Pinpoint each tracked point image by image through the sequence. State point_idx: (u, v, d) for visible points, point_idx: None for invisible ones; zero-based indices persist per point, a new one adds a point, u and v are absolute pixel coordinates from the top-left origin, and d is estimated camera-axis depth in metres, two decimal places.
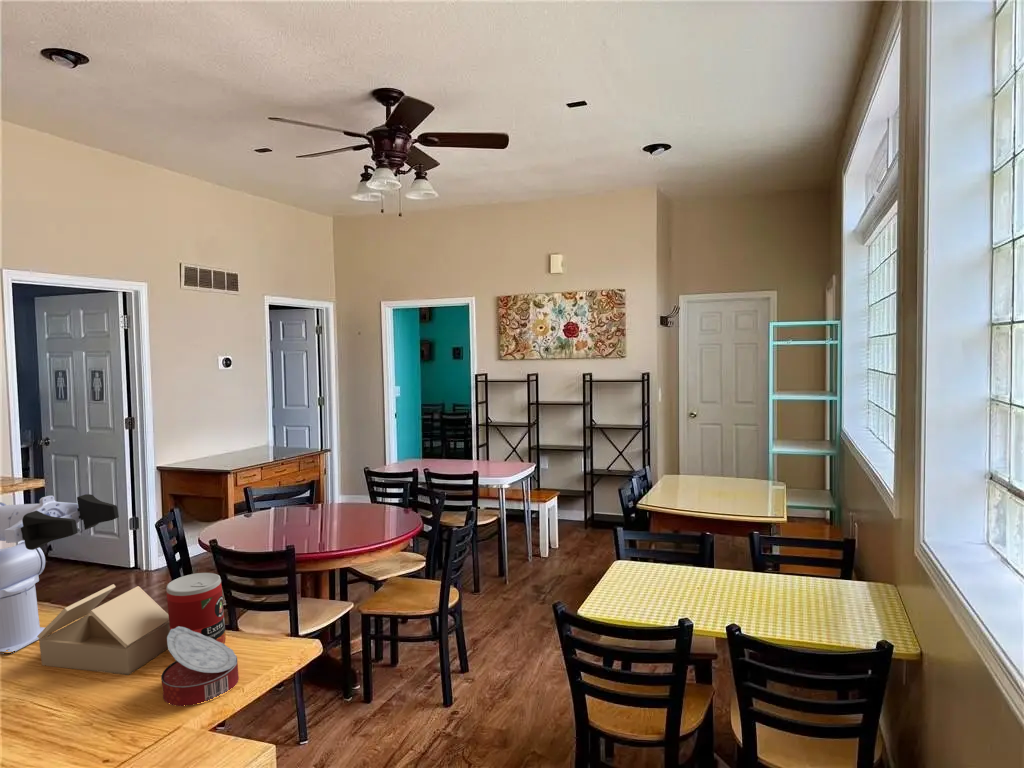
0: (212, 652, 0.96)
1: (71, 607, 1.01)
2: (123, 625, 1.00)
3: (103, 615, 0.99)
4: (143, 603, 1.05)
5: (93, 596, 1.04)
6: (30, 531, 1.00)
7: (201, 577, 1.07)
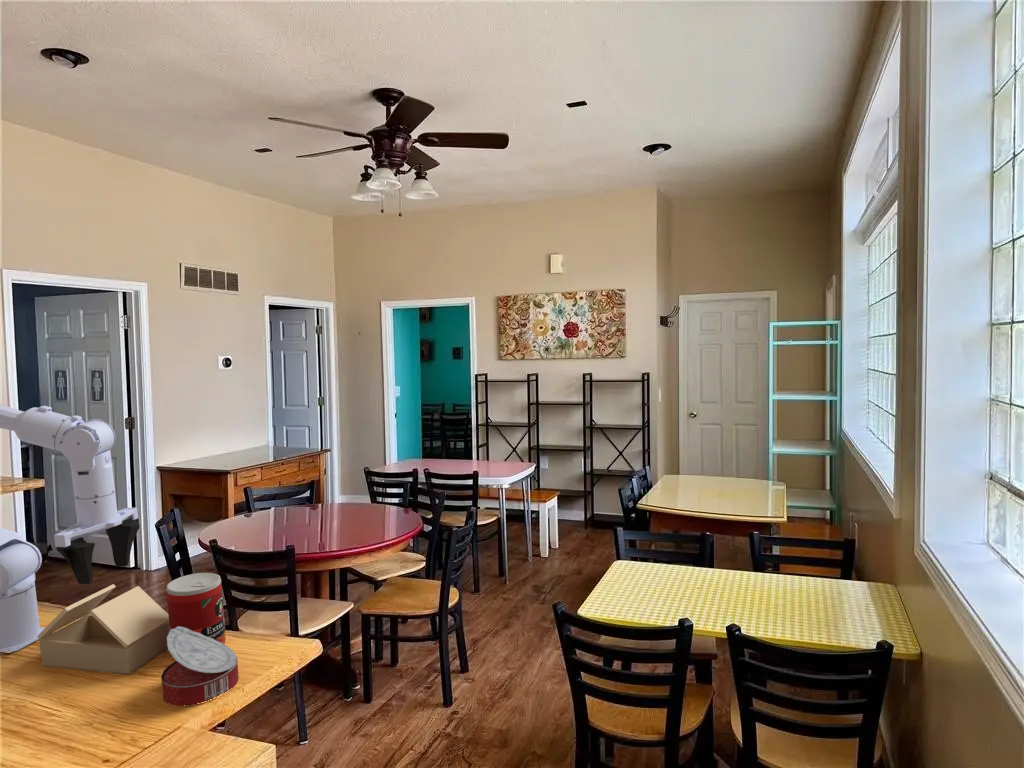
0: (212, 652, 0.96)
1: (71, 607, 1.01)
2: (123, 625, 1.00)
3: (103, 615, 0.99)
4: (143, 603, 1.05)
5: (93, 596, 1.04)
6: None
7: (201, 577, 1.07)
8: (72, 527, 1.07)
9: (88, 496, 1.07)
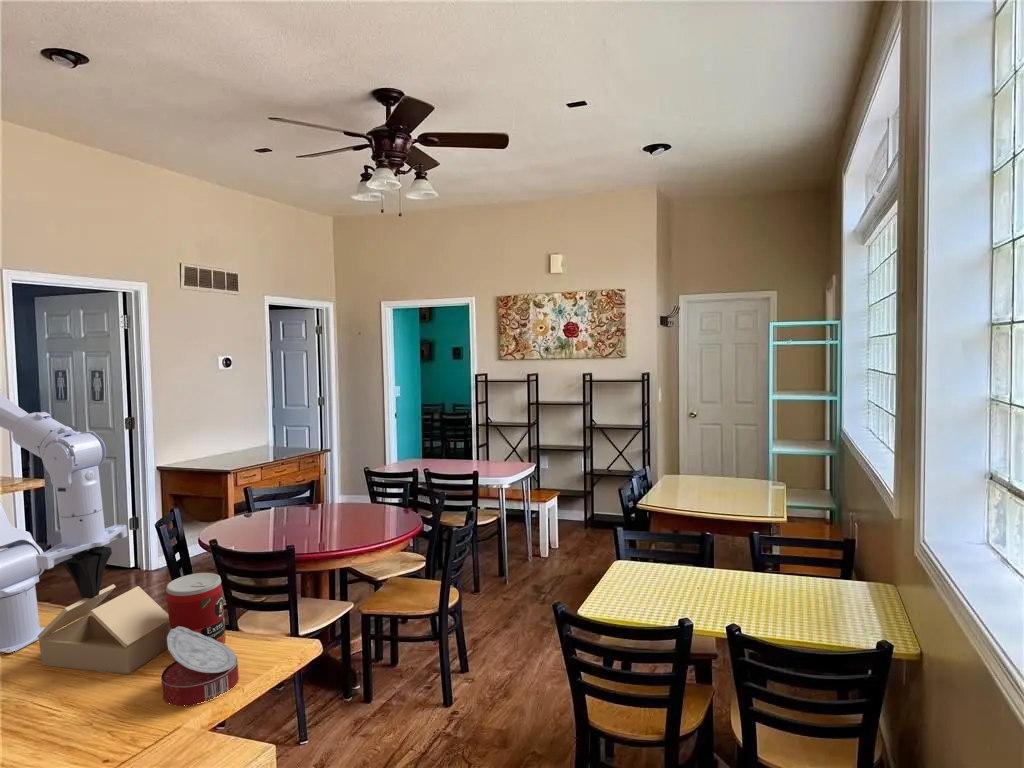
0: (212, 652, 0.96)
1: (71, 607, 1.01)
2: (123, 625, 1.00)
3: (103, 615, 0.99)
4: (143, 603, 1.05)
5: None
6: None
7: (201, 577, 1.07)
8: (56, 547, 1.01)
9: (66, 514, 1.00)
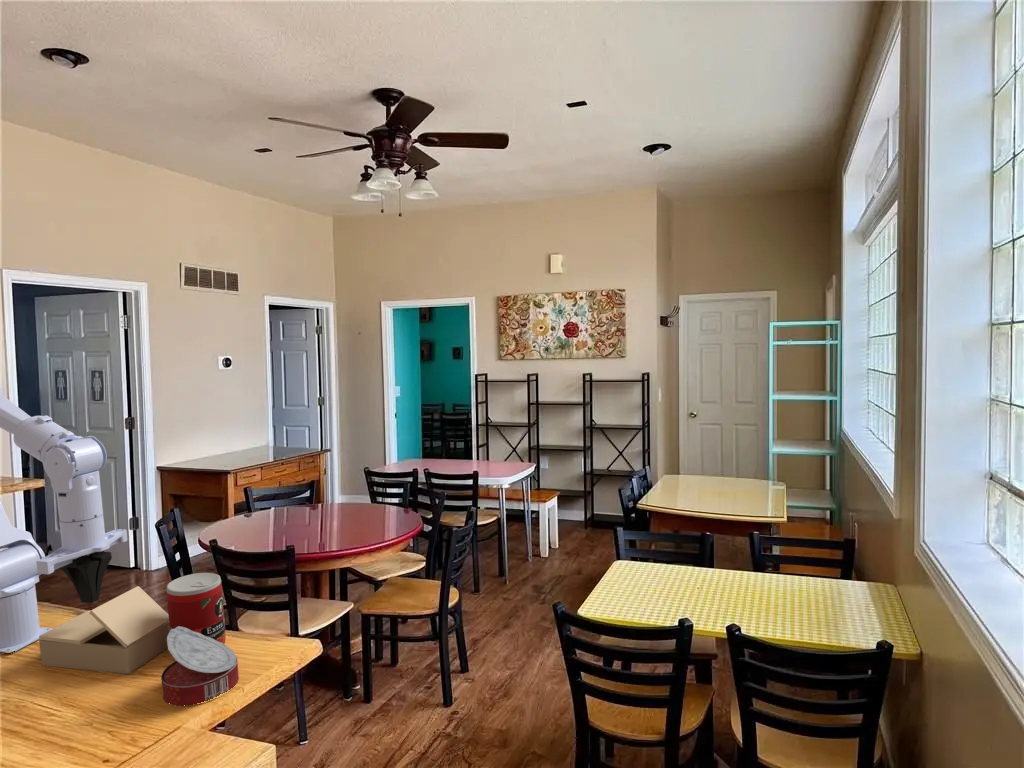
0: (212, 652, 0.96)
1: (85, 640, 1.01)
2: (123, 625, 1.00)
3: (103, 615, 0.99)
4: (143, 603, 1.05)
5: None
6: None
7: (201, 577, 1.07)
8: (56, 552, 1.01)
9: (66, 519, 1.00)
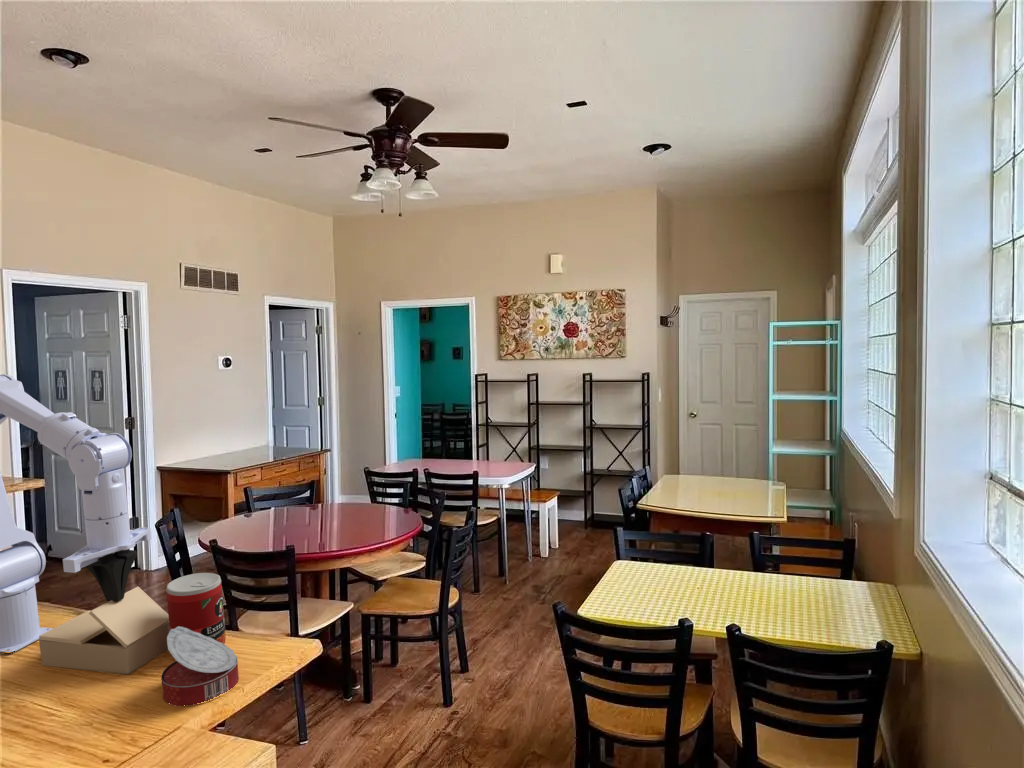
0: (212, 652, 0.96)
1: (85, 640, 1.01)
2: (123, 625, 1.00)
3: (103, 615, 0.99)
4: (143, 603, 1.05)
5: None
6: None
7: (201, 577, 1.07)
8: (82, 550, 1.00)
9: (92, 517, 0.99)
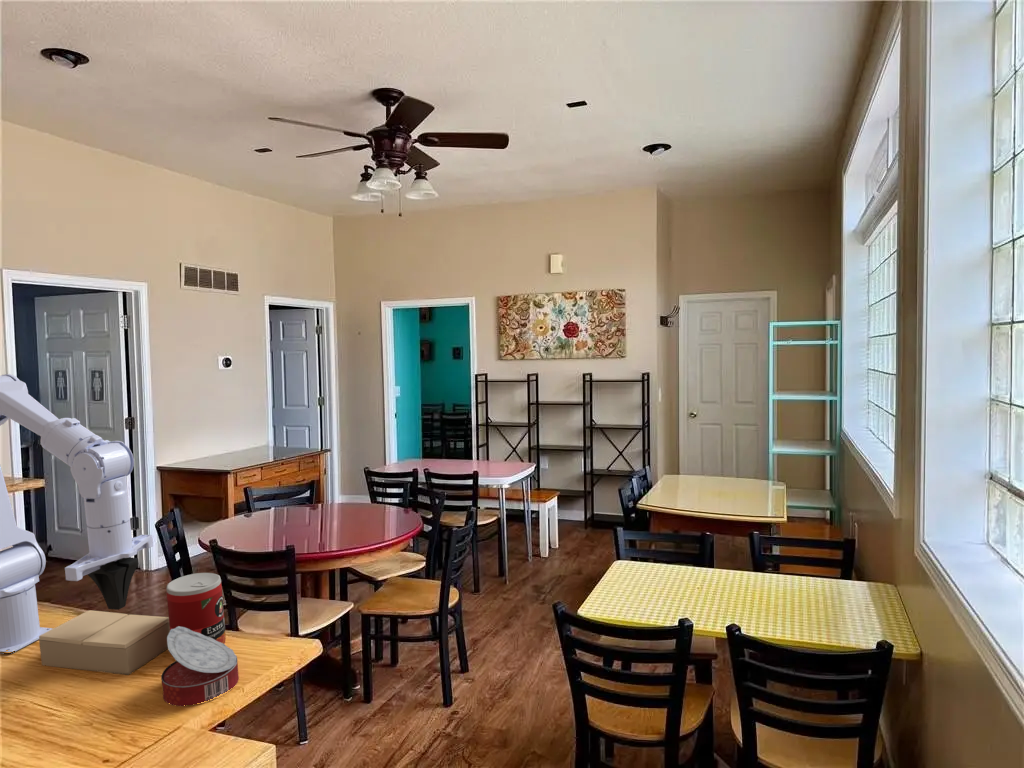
0: (212, 652, 0.96)
1: None
2: (118, 637, 1.00)
3: (96, 639, 1.00)
4: (137, 620, 1.06)
5: None
6: None
7: (201, 577, 1.07)
8: (84, 558, 1.00)
9: (94, 525, 0.99)
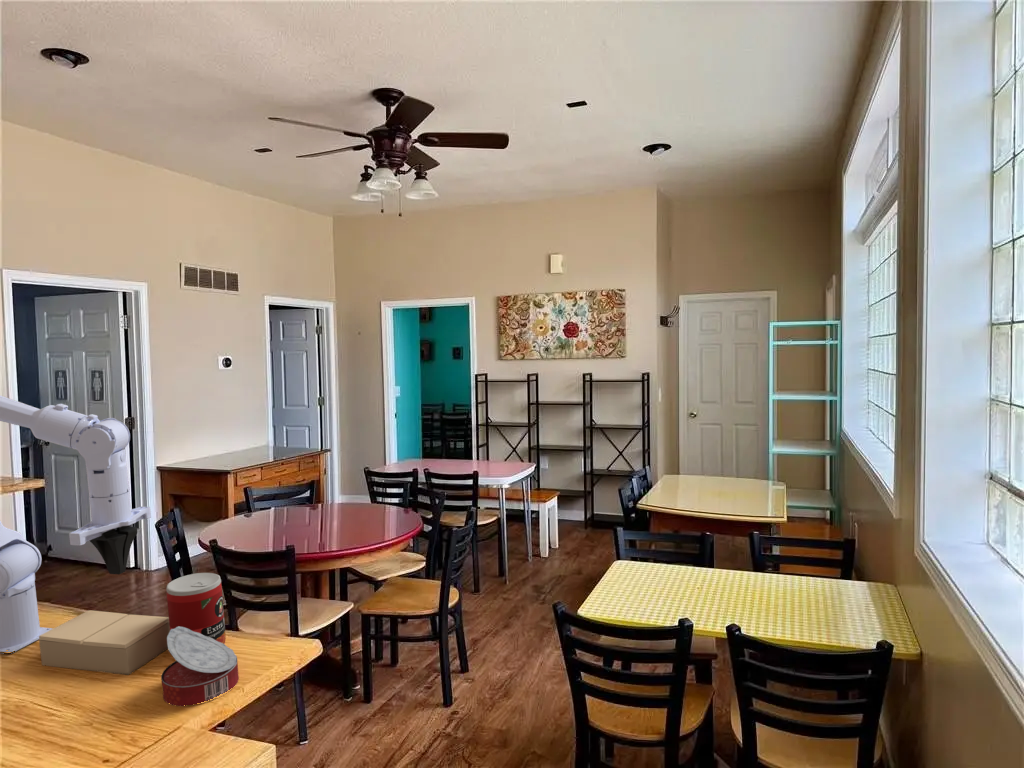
0: (212, 652, 0.96)
1: None
2: (118, 637, 1.00)
3: (96, 639, 1.00)
4: (137, 620, 1.06)
5: None
6: None
7: (201, 577, 1.07)
8: (86, 525, 1.08)
9: (103, 495, 1.07)
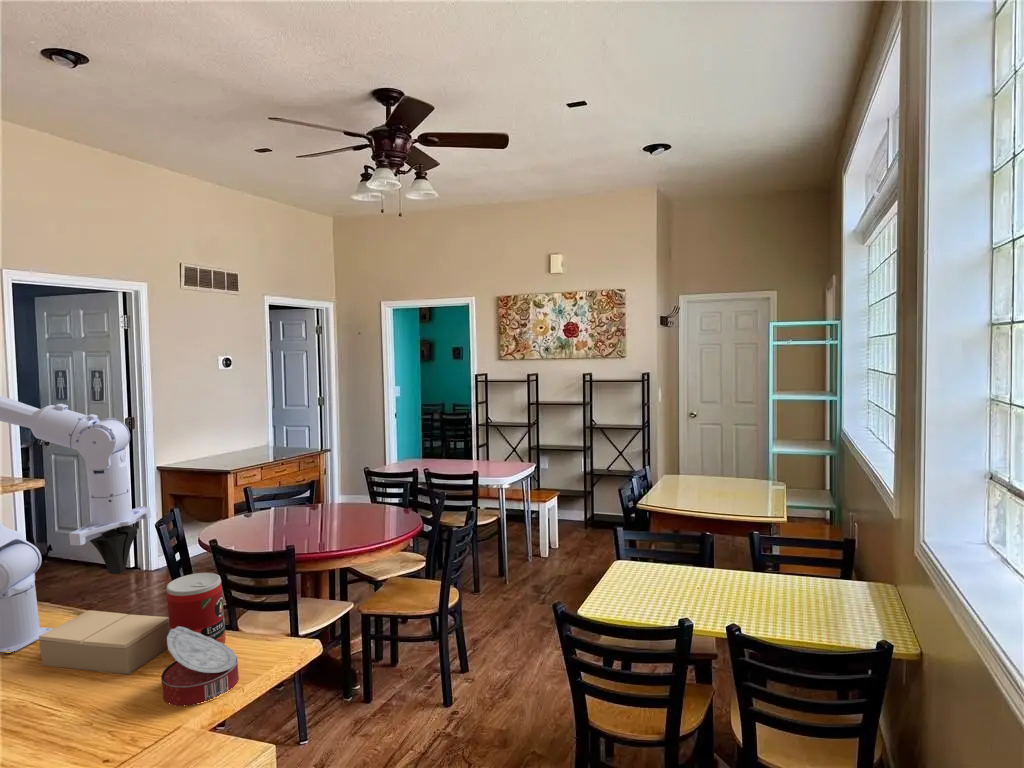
0: (212, 652, 0.96)
1: None
2: (118, 637, 1.00)
3: (96, 639, 1.00)
4: (137, 620, 1.06)
5: None
6: None
7: (201, 577, 1.07)
8: (86, 525, 1.08)
9: (103, 495, 1.07)
